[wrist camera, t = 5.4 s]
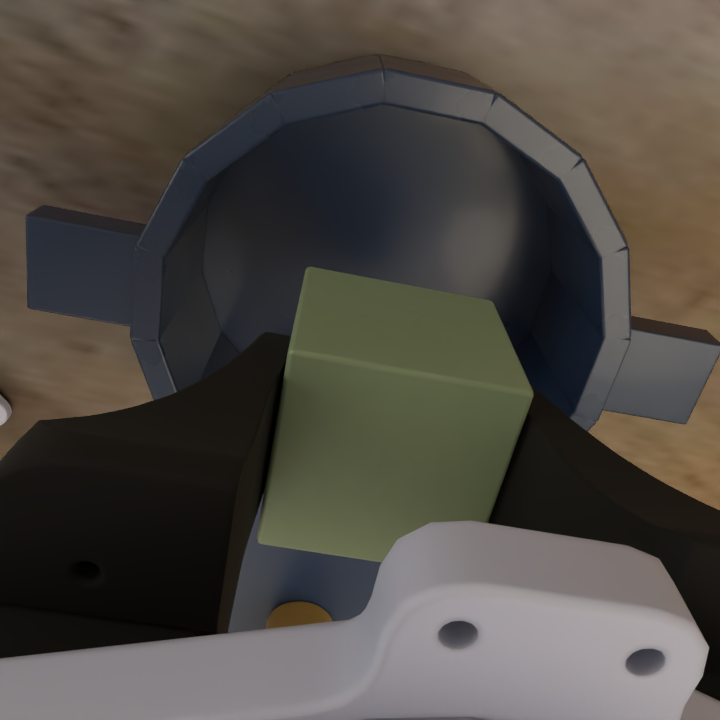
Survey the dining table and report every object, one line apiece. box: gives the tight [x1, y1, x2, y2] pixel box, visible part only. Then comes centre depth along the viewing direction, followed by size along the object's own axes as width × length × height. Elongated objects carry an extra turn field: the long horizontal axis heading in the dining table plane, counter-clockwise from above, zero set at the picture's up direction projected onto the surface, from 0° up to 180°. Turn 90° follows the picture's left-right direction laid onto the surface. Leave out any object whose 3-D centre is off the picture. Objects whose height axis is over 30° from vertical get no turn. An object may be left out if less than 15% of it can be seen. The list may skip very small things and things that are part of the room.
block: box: [257, 267, 534, 562], centre depth 13 cm, size 4×4×4 cm
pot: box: [26, 54, 720, 504], centre depth 19 cm, size 12×17×5 cm
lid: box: [228, 504, 382, 633], centre depth 26 cm, size 13×13×4 cm
